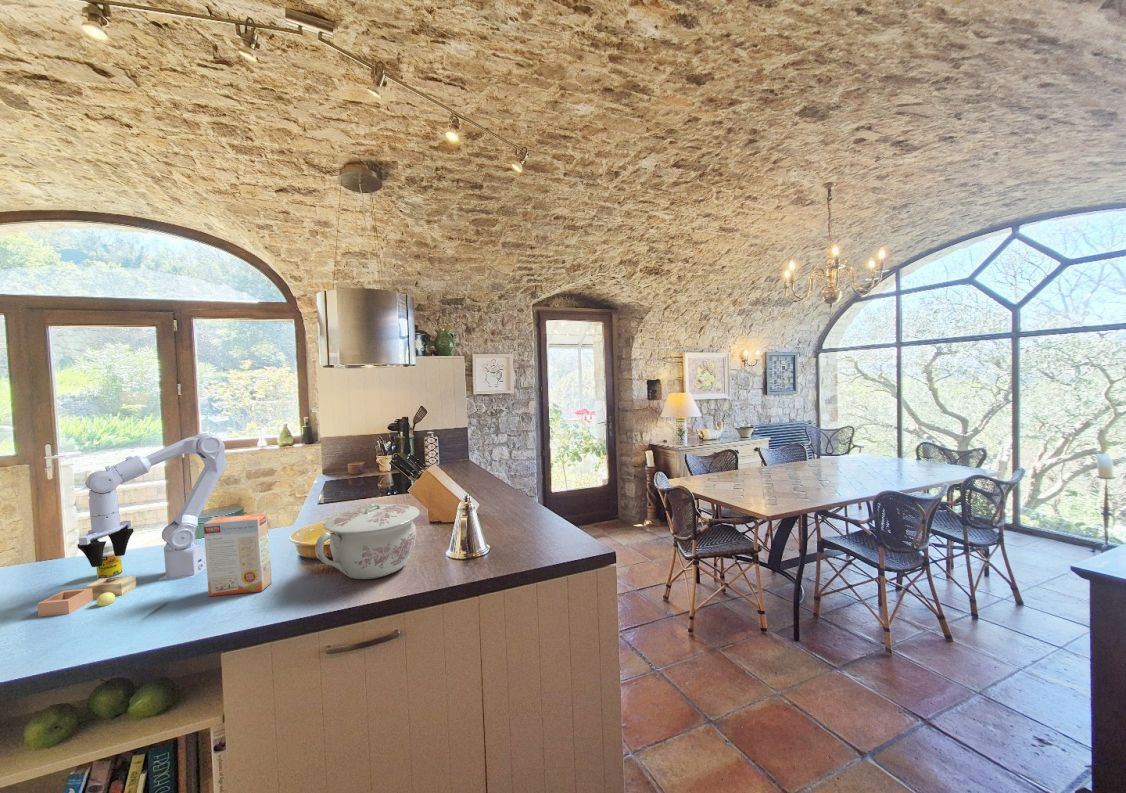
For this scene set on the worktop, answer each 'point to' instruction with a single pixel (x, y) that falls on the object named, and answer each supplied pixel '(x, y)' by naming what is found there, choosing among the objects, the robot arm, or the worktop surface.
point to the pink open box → (65, 602)
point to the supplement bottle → (109, 563)
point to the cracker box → (237, 554)
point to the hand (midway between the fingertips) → (108, 560)
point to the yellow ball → (105, 599)
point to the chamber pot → (370, 540)
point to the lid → (113, 585)
